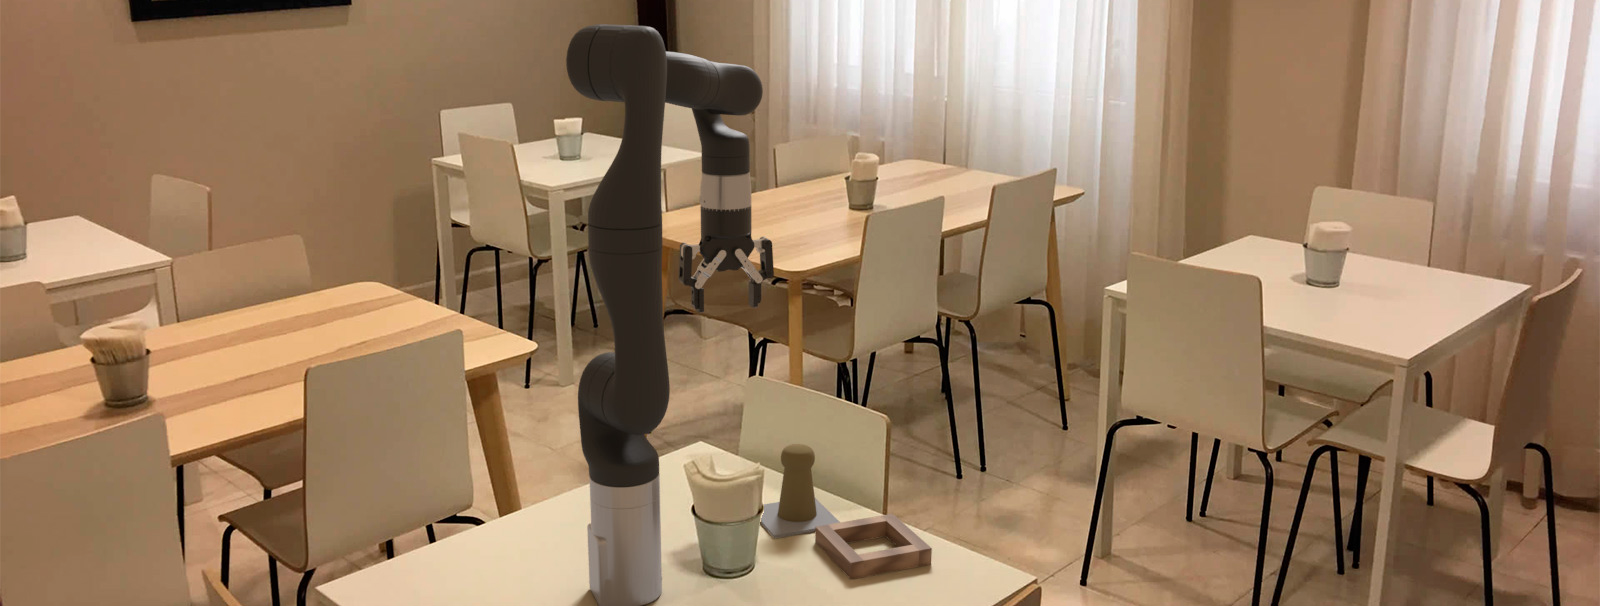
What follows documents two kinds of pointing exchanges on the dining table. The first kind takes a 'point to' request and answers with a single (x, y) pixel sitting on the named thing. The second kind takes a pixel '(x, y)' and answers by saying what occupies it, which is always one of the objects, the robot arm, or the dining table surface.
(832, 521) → the slate mat
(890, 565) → the walnut board
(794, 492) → the cork
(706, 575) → the dining table surface
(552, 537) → the dining table surface
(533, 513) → the dining table surface
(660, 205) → the robot arm
